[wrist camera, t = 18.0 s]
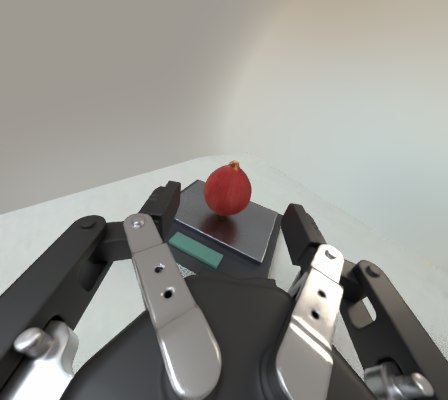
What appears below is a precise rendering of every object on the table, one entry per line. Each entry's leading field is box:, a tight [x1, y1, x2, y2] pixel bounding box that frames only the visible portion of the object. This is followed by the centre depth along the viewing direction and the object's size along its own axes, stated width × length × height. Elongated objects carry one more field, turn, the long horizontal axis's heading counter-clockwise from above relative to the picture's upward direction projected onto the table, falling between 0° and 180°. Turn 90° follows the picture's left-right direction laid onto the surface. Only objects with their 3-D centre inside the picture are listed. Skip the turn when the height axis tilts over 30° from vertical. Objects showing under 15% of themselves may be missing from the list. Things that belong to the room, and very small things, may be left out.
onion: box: [204, 160, 251, 216], centre depth 21 cm, size 6×6×8 cm
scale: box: [164, 180, 283, 279], centre depth 24 cm, size 16×14×3 cm
